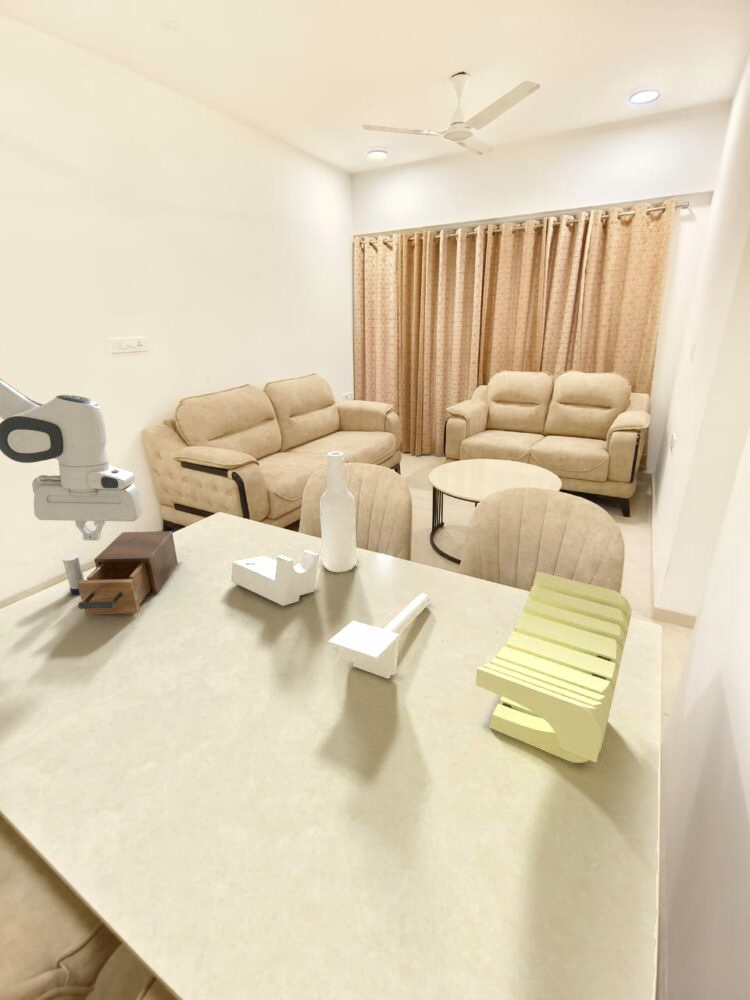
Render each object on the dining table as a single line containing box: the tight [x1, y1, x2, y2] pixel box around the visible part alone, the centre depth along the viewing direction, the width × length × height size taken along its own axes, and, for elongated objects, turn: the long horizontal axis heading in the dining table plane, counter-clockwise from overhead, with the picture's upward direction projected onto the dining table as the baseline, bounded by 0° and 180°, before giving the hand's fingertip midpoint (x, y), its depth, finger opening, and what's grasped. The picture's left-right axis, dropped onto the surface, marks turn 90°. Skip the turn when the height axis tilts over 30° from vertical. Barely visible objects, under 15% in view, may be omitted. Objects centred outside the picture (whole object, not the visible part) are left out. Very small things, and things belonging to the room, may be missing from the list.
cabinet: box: [93, 530, 179, 595], centre depth 123 cm, size 15×13×10 cm
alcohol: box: [319, 451, 358, 573], centre depth 124 cm, size 9×9×30 cm
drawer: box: [77, 561, 152, 615], centre depth 112 cm, size 18×11×8 cm, turn 1°
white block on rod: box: [327, 593, 431, 680], centre depth 98 cm, size 9×9×32 cm
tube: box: [62, 553, 85, 596], centre depth 118 cm, size 3×3×9 cm
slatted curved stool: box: [475, 571, 632, 764], centre depth 78 cm, size 30×16×18 cm, turn 148°
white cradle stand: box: [230, 549, 320, 607], centre depth 119 cm, size 18×10×10 cm, turn 53°
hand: (92, 539), depth 106 cm, fingers closed
